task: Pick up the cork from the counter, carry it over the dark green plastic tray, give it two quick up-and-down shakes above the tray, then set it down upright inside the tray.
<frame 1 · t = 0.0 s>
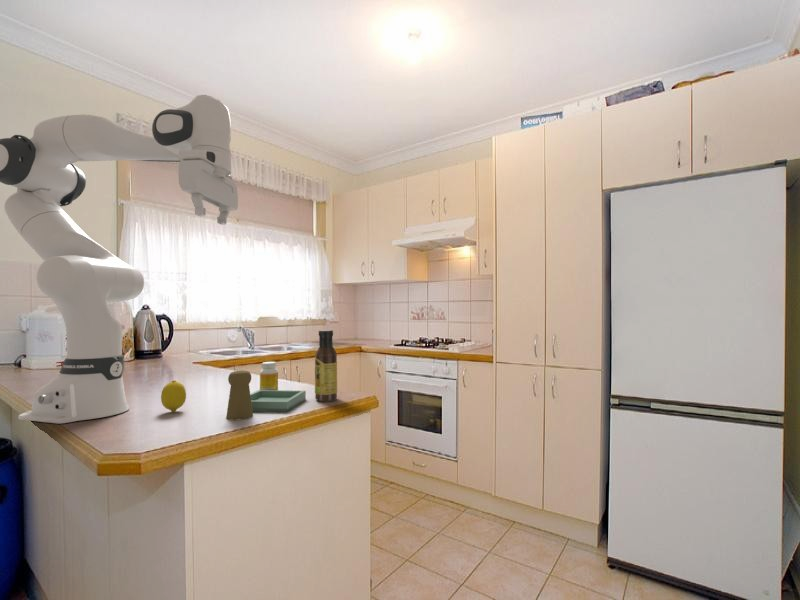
hand: (211, 220, 99), 48 cm above the table, tool pointing down, fingers open, 8 cm apart
cork: (239, 417, 97), on the table
lemon: (173, 412, 102), on the table
supplement bottle: (268, 394, 123), on the table
sauce bottle: (326, 400, 114), on the table
tray: (271, 404, 108), on the table
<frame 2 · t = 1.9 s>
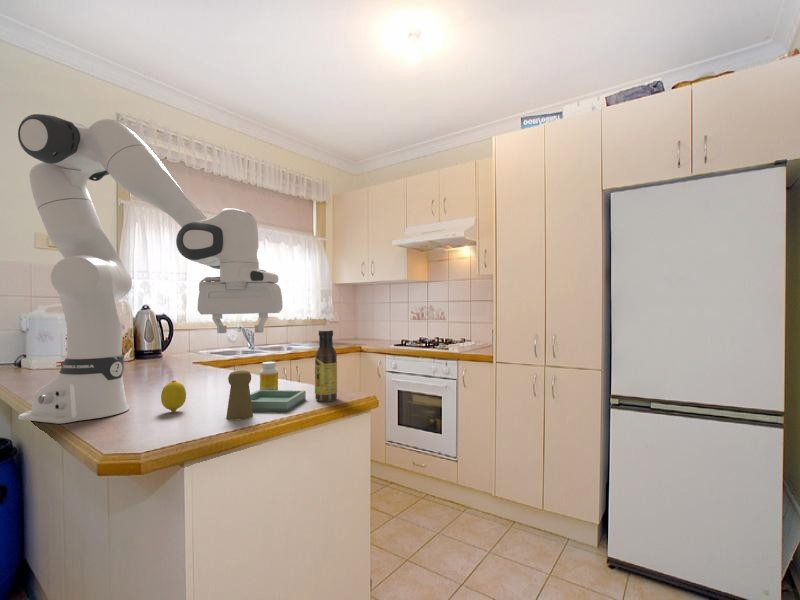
hand: (240, 332, 97), 20 cm above the table, tool pointing down, fingers open, 8 cm apart
nothing on the table moved.
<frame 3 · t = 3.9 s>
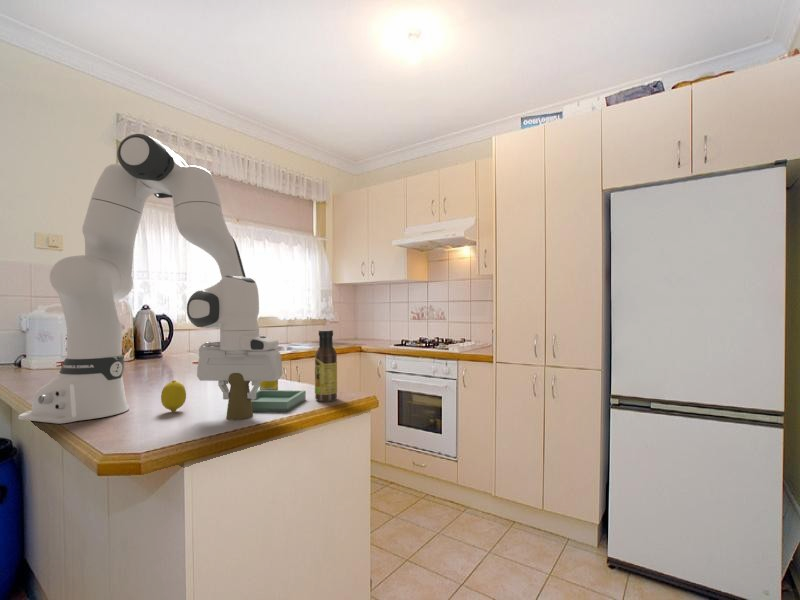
hand: (239, 399, 97), 4 cm above the table, tool pointing down, fingers closed on cork, 5 cm apart
cork: (239, 417, 97), on the table, touching gripper
everything else where it was.
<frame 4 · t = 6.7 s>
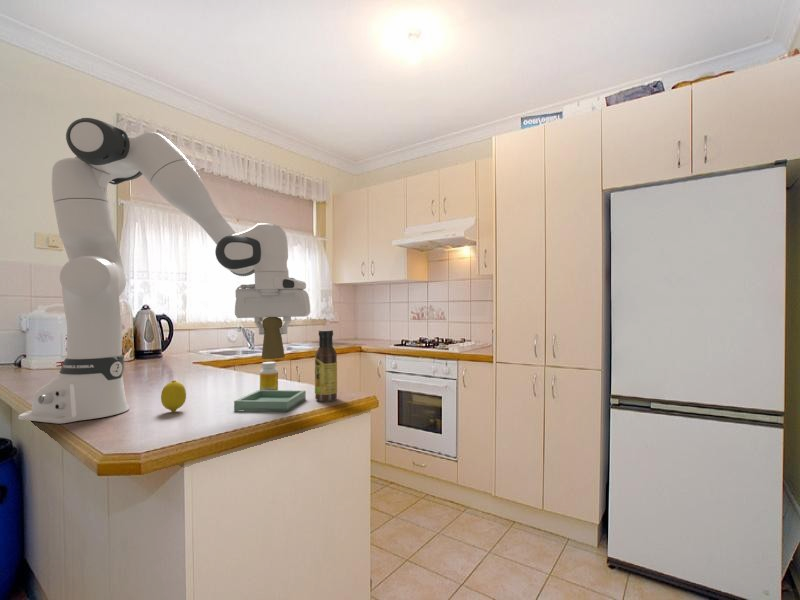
hand: (273, 334, 109), 19 cm above the table, tool pointing down, fingers closed on cork, 4 cm apart
cork: (273, 358, 109), point 13 cm above the table, touching gripper
everything else where it was.
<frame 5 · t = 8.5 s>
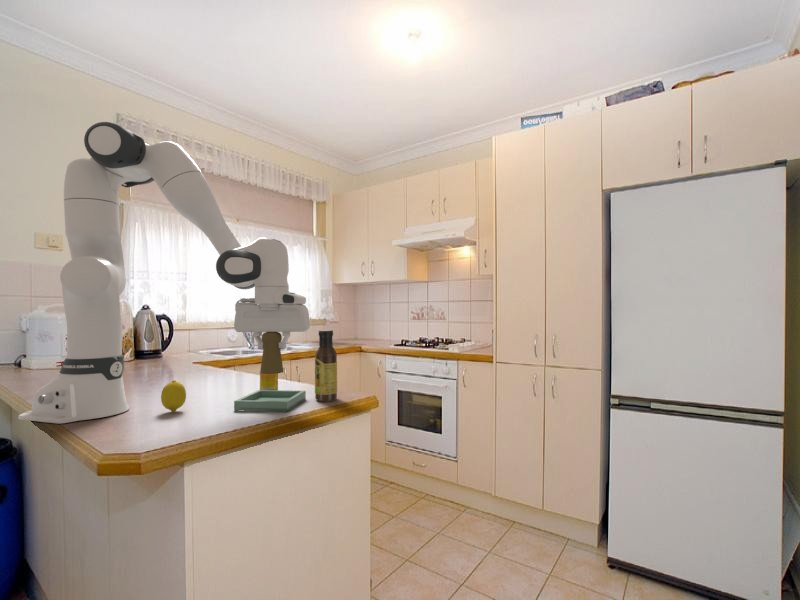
hand: (272, 348, 109), 15 cm above the table, tool pointing down, fingers closed on cork, 4 cm apart
cork: (271, 373, 108), point 9 cm above the table, touching gripper
everything else where it was.
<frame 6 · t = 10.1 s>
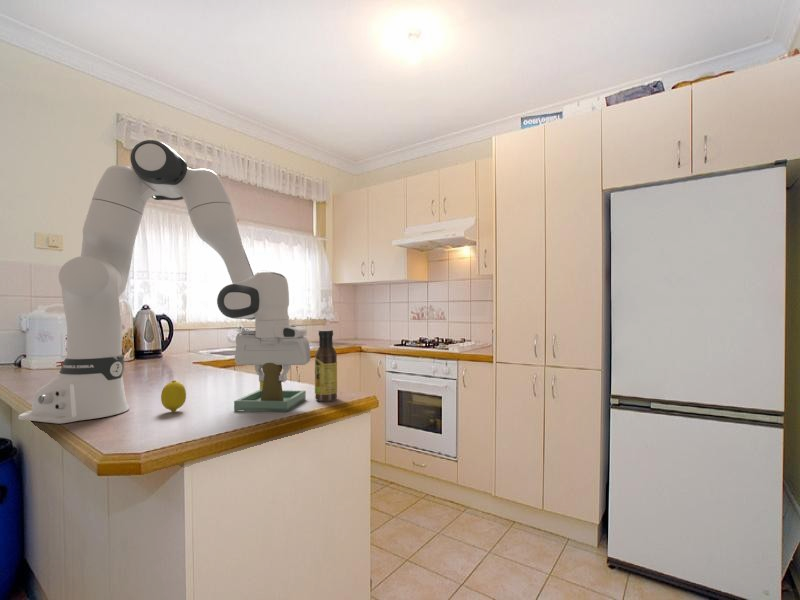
hand: (272, 381, 109), 6 cm above the table, tool pointing down, fingers closed on cork, 4 cm apart
cork: (272, 402, 108), point 1 cm above the table, touching gripper, tray
everything else where it was.
when the fingers open (6 cm above the table, at t = 10.5 s): cork stays where it is, resting on tray.
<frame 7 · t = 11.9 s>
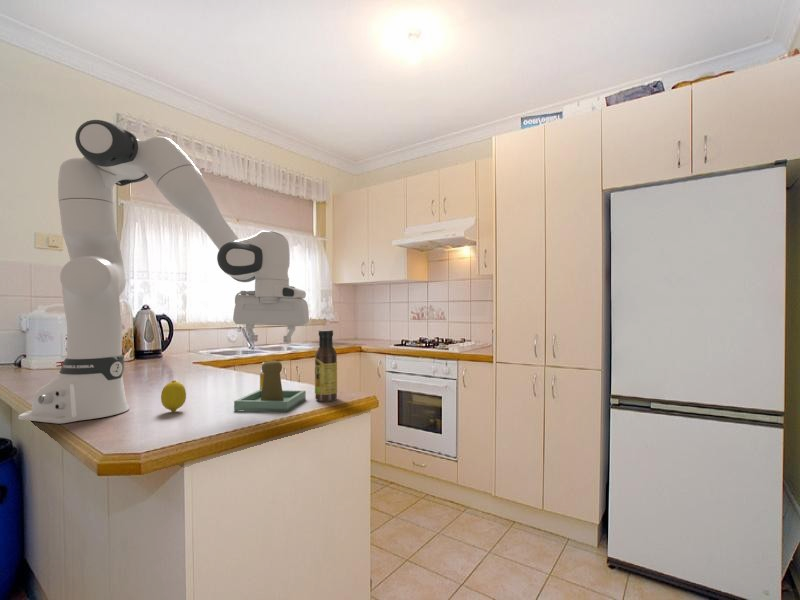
hand: (270, 341, 109), 17 cm above the table, tool pointing down, fingers open, 8 cm apart
cork: (272, 402, 108), point 1 cm above the table, touching tray
everything else where it was.
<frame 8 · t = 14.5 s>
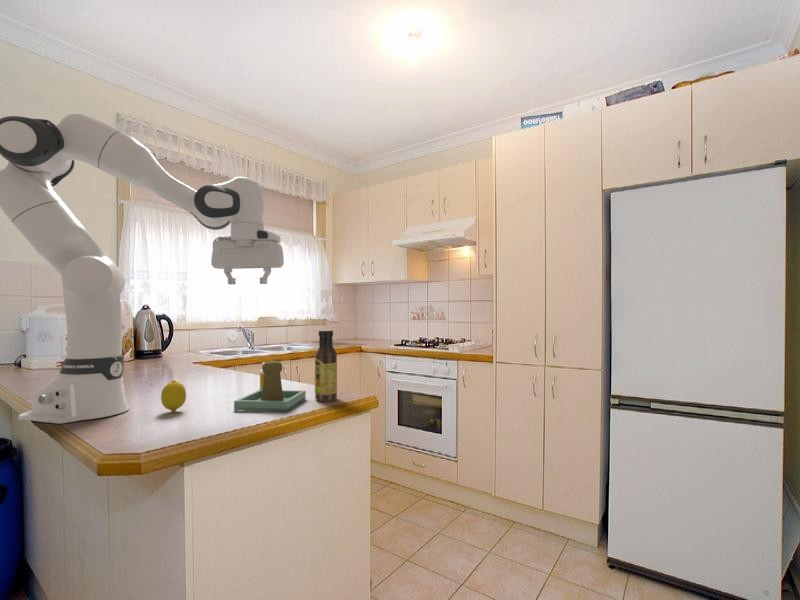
hand: (247, 284, 114), 33 cm above the table, tool pointing down, fingers open, 8 cm apart
nothing on the table moved.
at the end: cork inside the target area on the tray (0.0 cm from its centre), point 0.6 cm above the tray's base; cork tilted 0°; the gripper is holding nothing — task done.
